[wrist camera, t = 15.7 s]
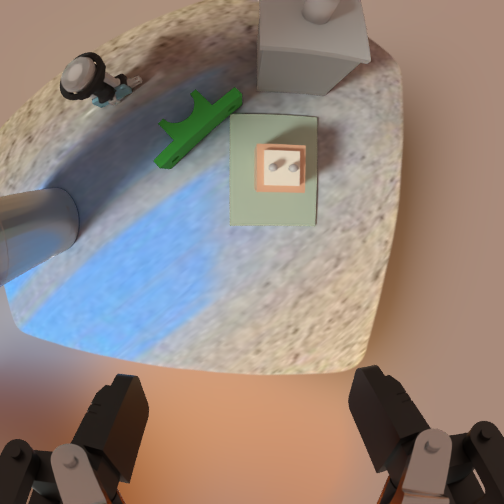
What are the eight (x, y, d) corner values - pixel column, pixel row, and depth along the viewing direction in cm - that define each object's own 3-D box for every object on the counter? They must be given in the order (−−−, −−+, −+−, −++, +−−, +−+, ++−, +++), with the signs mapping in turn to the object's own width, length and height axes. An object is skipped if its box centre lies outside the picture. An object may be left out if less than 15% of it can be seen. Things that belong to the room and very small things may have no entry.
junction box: (254, 93, 28) (263, 26, 12) (254, 41, 25) (262, -41, 10) (327, 98, 28) (390, 48, 13) (324, 47, 26) (373, -21, 11)
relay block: (254, 188, 30) (257, 192, 23) (254, 149, 29) (257, 141, 22) (293, 189, 31) (308, 194, 23) (294, 150, 29) (309, 143, 22)
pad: (230, 225, 32) (229, 225, 31) (230, 114, 28) (230, 114, 28) (314, 225, 32) (315, 226, 32) (316, 117, 28) (316, 117, 28)
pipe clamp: (221, 84, 27) (218, 70, 23) (242, 105, 28) (242, 93, 24) (151, 148, 29) (137, 144, 25) (170, 169, 30) (159, 168, 25)
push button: (140, 65, 26) (106, 33, 16) (147, 99, 27) (112, 74, 18) (95, 87, 26) (53, 66, 16) (101, 120, 27) (56, 107, 18)
